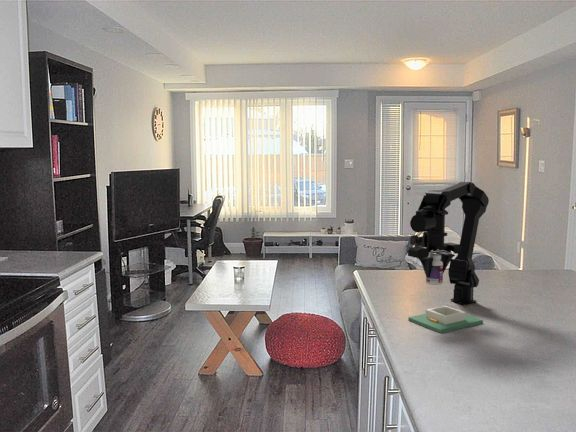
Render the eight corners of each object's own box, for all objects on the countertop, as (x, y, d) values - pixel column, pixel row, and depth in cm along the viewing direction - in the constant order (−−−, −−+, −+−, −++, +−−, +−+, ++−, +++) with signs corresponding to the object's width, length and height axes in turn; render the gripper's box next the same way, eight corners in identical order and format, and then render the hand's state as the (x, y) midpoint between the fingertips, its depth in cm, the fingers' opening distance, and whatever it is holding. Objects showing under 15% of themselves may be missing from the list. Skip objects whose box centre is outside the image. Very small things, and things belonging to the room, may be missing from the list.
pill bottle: (443, 285, 176) (443, 256, 175) (426, 285, 177) (426, 255, 176) (442, 281, 181) (442, 253, 180) (425, 281, 183) (426, 252, 181)
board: (449, 311, 182) (449, 301, 181) (482, 323, 170) (483, 312, 169) (408, 320, 173) (408, 309, 173) (440, 333, 161) (440, 321, 161)
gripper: (439, 224, 188) (437, 268, 190) (396, 228, 180) (396, 274, 182) (463, 228, 179) (461, 274, 181) (420, 232, 170) (419, 281, 172)
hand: (434, 276), depth 179 cm, fingers closed on pill bottle, 5 cm apart
